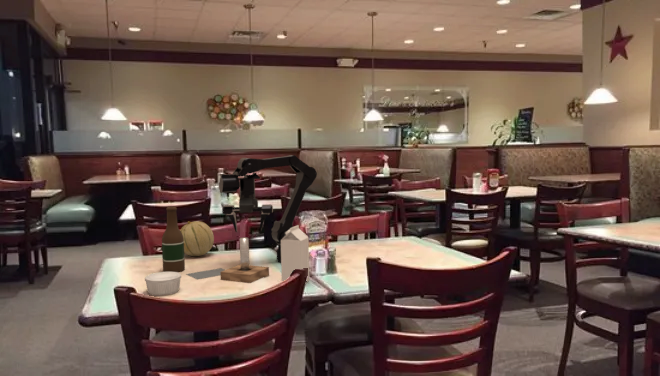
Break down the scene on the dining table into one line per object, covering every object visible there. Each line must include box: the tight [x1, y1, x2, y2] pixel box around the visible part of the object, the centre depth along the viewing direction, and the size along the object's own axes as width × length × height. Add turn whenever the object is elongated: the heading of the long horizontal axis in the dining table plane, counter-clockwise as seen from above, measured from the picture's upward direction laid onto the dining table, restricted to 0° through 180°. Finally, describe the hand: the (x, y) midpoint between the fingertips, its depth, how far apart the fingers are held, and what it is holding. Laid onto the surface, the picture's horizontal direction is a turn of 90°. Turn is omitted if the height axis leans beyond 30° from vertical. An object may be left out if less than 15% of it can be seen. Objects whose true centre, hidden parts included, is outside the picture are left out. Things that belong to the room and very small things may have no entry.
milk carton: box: [280, 224, 310, 283], centre depth 179 cm, size 7×7×19 cm
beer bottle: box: [161, 206, 186, 273], centre depth 198 cm, size 8×8×24 cm
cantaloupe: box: [179, 220, 215, 257], centre depth 225 cm, size 15×15×15 cm
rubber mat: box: [185, 267, 226, 280], centre depth 193 cm, size 14×10×1 cm
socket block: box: [220, 263, 270, 284], centre depth 187 cm, size 12×12×3 cm
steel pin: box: [239, 237, 250, 271], centre depth 187 cm, size 3×3×14 cm
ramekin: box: [144, 271, 182, 296], centre depth 172 cm, size 11×11×5 cm
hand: (248, 231), depth 206 cm, fingers open, 9 cm apart
